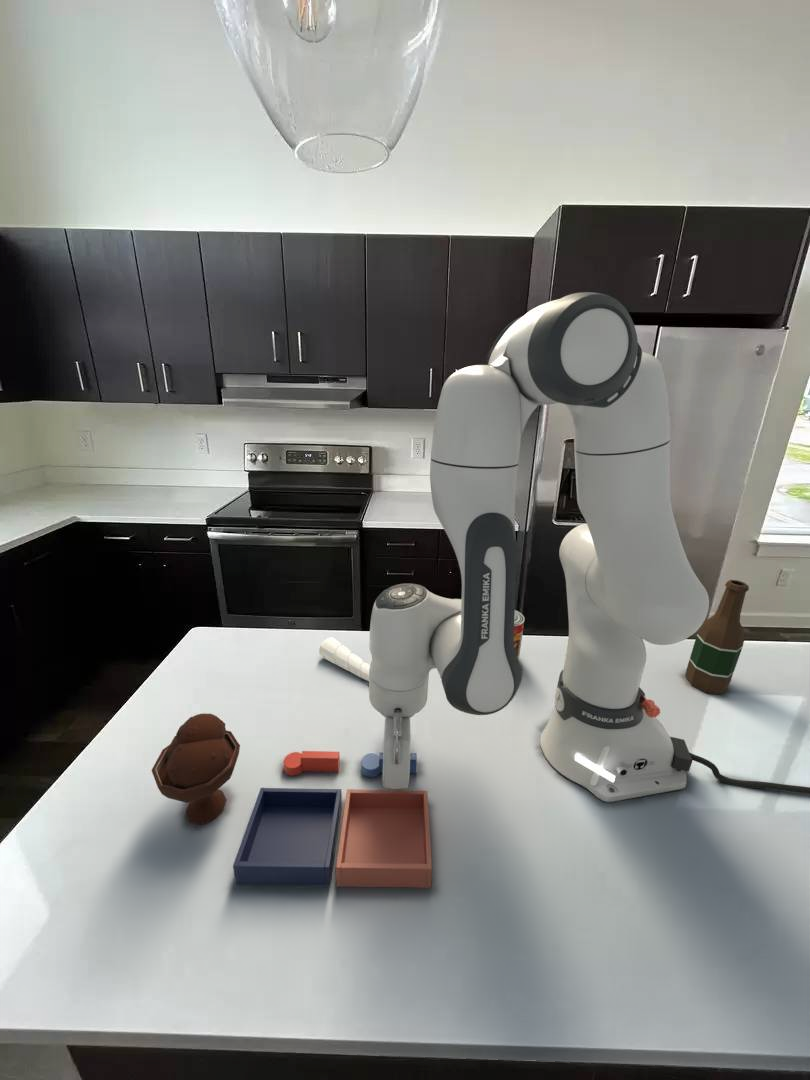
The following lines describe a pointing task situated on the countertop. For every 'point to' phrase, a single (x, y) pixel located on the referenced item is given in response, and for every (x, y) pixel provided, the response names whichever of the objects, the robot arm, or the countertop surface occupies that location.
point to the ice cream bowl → (198, 766)
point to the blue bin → (290, 838)
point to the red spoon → (311, 762)
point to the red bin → (385, 839)
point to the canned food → (518, 631)
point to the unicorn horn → (343, 658)
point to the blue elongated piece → (381, 764)
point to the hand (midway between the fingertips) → (396, 757)
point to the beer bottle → (719, 643)
